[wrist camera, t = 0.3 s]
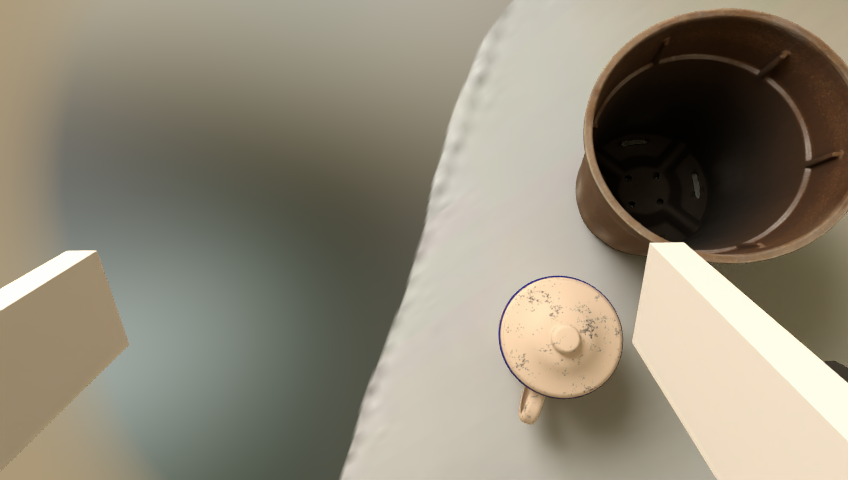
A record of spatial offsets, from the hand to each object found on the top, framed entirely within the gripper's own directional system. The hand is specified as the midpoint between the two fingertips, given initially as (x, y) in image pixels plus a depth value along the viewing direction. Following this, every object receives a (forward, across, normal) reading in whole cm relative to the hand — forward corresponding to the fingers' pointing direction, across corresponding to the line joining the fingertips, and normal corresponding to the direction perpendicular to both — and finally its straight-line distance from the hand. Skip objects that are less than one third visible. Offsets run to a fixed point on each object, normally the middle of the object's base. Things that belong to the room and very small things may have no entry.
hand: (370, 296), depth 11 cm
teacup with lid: (+26, -10, +21) cm, 35 cm away
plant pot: (+33, -20, +9) cm, 40 cm away
